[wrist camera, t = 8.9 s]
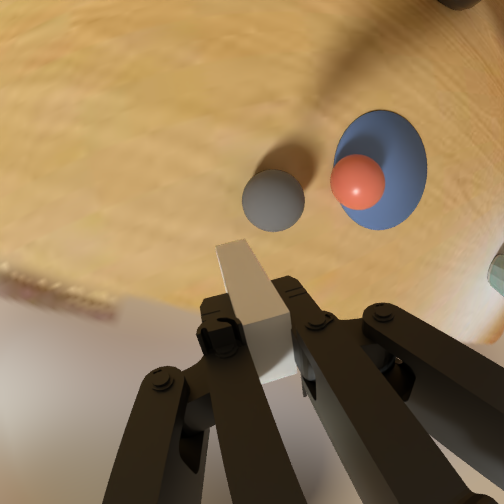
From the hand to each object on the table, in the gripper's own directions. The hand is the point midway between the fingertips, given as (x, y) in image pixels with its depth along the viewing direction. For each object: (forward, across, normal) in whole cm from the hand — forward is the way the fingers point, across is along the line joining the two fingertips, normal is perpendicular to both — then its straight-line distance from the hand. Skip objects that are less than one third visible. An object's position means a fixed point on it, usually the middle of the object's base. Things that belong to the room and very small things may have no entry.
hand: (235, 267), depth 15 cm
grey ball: (+11, +5, 0) cm, 13 cm away
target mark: (+14, +20, 0) cm, 24 cm away
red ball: (+11, +14, 0) cm, 18 cm away
